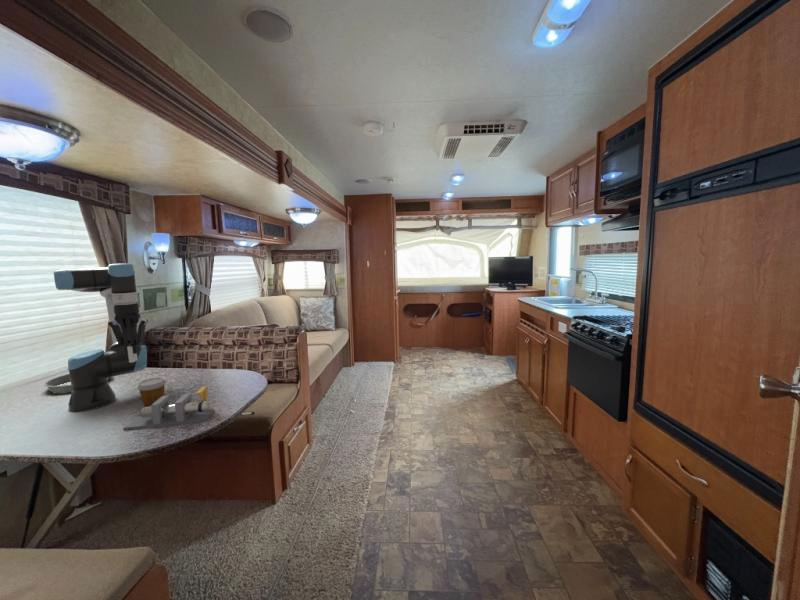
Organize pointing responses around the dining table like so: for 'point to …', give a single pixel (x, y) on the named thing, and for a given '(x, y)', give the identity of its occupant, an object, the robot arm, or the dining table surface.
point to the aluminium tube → (170, 409)
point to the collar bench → (172, 419)
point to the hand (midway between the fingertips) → (133, 361)
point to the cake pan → (57, 381)
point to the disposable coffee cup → (151, 390)
